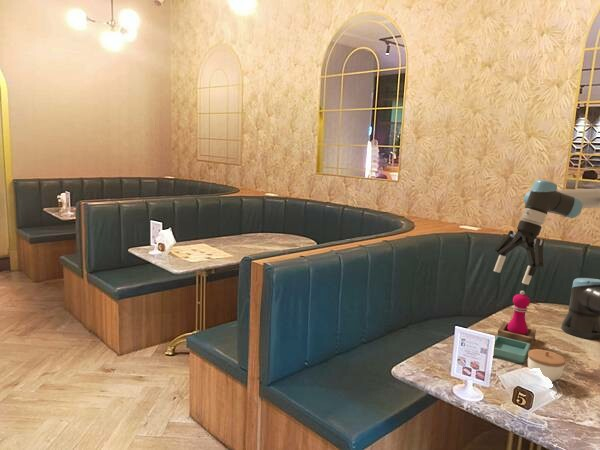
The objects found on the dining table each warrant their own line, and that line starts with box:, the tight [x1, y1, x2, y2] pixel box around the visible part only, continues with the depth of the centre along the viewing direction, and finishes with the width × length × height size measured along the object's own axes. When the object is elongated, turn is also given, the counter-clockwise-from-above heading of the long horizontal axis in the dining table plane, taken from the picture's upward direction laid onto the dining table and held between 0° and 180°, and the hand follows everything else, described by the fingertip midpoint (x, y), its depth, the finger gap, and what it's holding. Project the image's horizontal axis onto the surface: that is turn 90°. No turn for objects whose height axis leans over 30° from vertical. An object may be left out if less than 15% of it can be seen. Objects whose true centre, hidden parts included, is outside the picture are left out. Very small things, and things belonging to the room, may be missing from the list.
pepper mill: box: [507, 290, 531, 335], centre depth 183 cm, size 7×7×20 cm
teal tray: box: [493, 334, 531, 365], centre depth 171 cm, size 12×14×3 cm
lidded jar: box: [527, 348, 566, 383], centre depth 152 cm, size 11×11×9 cm
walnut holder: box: [497, 321, 537, 350], centre depth 184 cm, size 12×12×4 cm
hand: (510, 277), depth 171 cm, fingers open, 13 cm apart
